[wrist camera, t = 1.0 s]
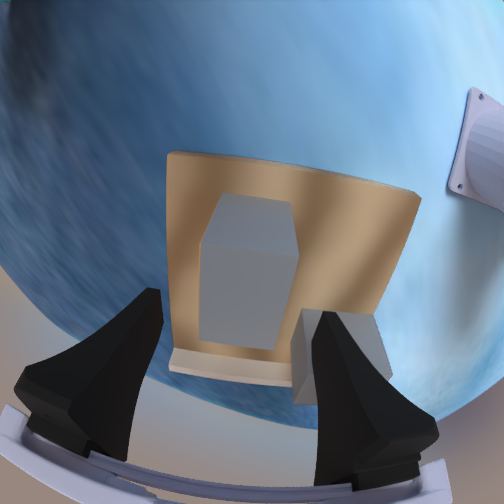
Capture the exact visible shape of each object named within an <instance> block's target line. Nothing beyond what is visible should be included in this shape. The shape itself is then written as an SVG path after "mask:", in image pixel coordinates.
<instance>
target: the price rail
mask: <svg viewBox="0 0 504 504" xmlns="http://www.w3.org/2000/svg"><path fill="white" fill-rule="evenodd" d="M169 369H170V371H174V372H179V373H184V374H189V375H195V376H201V377H207V378H213V379H219V380H226V381H234V382H242V383H250V384H259V385H270V386H282V387H292V369H291V364H290V363H278V362H268V361H259V360H250V359H242V358H234V357H227V356H220V355H214V354H208V353H202V352H196V351H190V350H185V349H179V348H174V349H173V352H172V355H171V359H170V362H169Z"/></svg>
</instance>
